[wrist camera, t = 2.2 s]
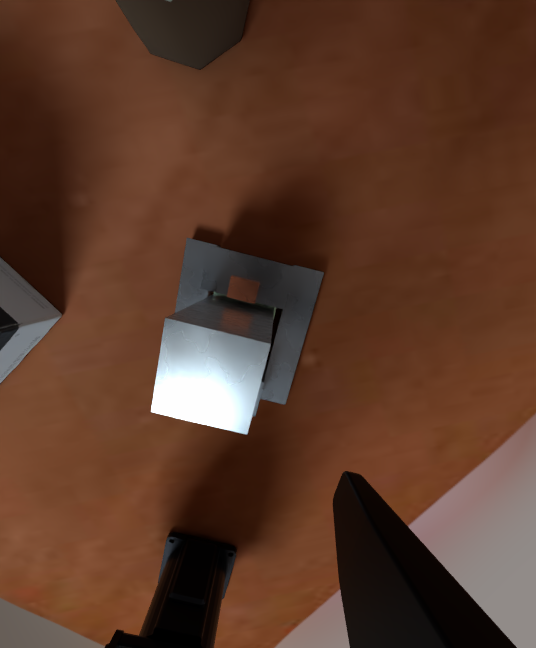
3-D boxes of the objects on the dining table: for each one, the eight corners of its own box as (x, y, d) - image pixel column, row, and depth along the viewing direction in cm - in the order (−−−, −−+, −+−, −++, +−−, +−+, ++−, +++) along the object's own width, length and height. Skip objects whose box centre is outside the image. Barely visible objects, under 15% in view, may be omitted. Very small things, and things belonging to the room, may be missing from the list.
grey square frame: (284, 397, 20) (286, 431, 16) (170, 370, 20) (143, 396, 16) (321, 271, 18) (334, 274, 14) (192, 239, 18) (166, 232, 14)
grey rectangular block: (263, 358, 19) (250, 438, 10) (207, 344, 19) (146, 413, 10) (277, 303, 18) (275, 341, 9) (218, 288, 18) (161, 313, 9)
